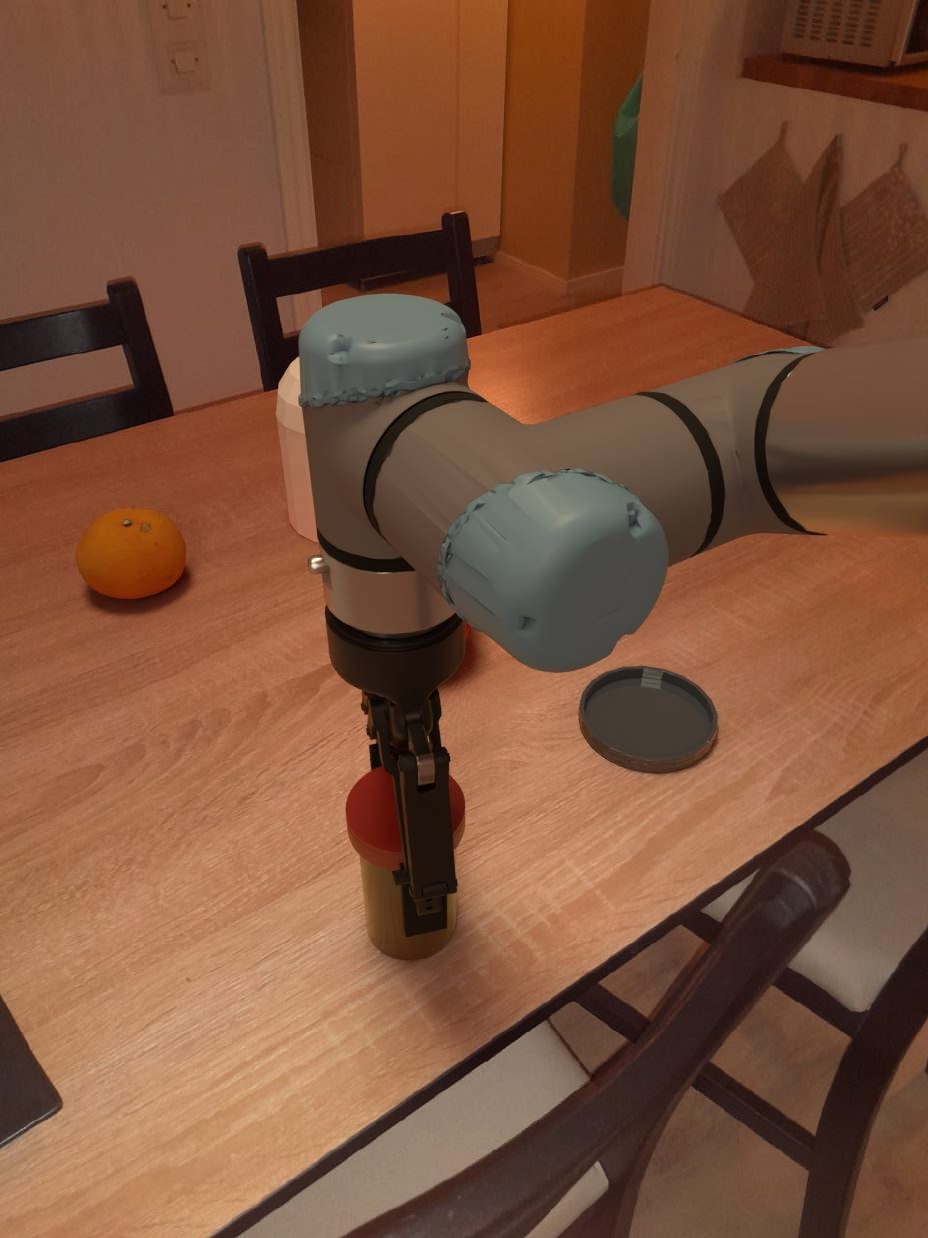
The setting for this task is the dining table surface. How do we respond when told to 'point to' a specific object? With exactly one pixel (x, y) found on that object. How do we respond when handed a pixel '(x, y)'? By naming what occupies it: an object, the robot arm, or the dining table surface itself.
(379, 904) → the jar
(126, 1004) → the dining table surface
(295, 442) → the container
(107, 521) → the fruit
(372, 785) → the lid
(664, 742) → the saucer
